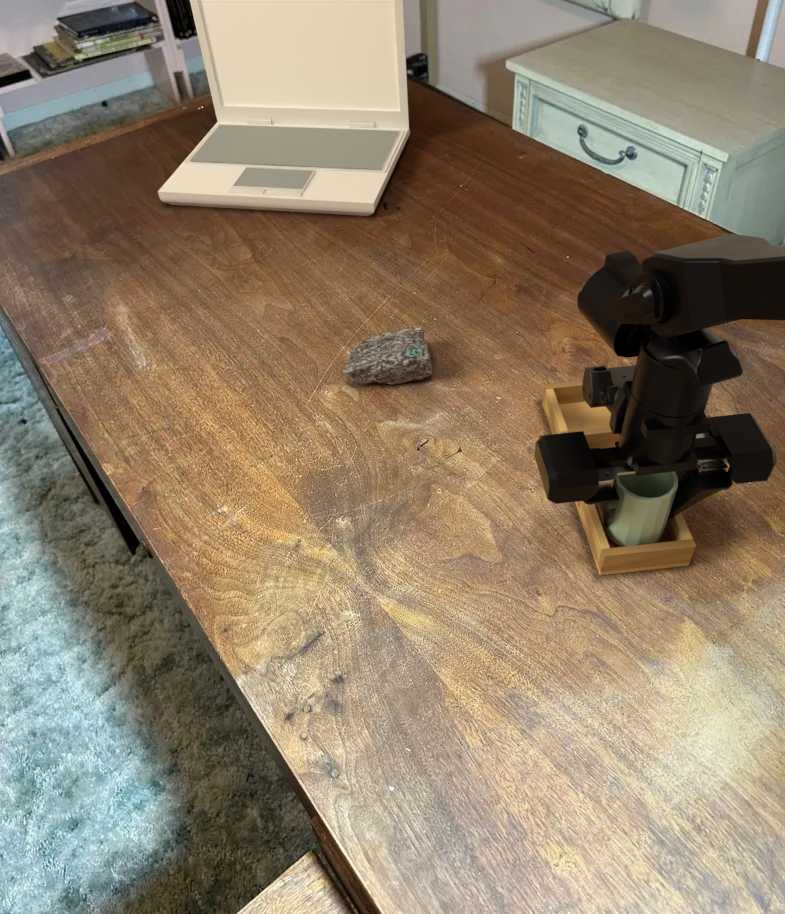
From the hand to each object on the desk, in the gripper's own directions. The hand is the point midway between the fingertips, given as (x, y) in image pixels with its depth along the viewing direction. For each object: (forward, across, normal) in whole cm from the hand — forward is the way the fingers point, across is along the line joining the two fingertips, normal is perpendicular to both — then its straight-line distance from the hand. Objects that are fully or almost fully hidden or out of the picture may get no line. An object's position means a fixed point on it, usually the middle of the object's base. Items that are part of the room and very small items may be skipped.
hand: (635, 519), depth 70 cm
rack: (+2, 0, -8) cm, 8 cm away
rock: (+2, +20, -27) cm, 34 cm away
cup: (+1, 0, 0) cm, 1 cm away
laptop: (+2, +32, -80) cm, 87 cm away
